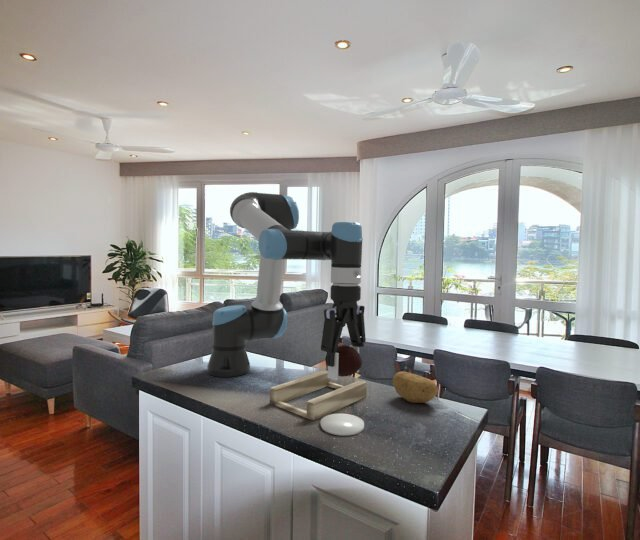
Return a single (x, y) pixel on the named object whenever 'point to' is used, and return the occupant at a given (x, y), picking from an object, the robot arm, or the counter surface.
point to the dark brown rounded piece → (347, 361)
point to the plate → (342, 424)
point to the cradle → (319, 404)
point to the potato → (414, 387)
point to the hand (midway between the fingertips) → (343, 374)
